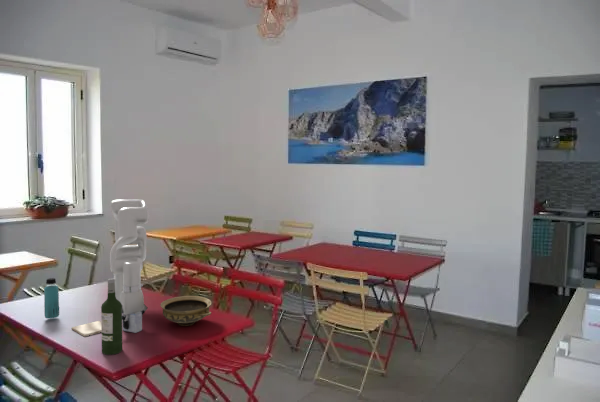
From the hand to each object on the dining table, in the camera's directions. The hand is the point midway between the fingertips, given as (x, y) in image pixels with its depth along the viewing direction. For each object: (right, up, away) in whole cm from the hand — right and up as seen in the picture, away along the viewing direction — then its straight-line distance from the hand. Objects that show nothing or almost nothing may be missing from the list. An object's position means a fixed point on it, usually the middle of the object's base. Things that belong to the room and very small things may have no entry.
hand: (132, 326), depth 221 cm
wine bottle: (0, -4, -24) cm, 24 cm away
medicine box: (0, -2, 0) cm, 2 cm away
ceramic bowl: (+22, -1, +11) cm, 25 cm away
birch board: (-18, -1, 0) cm, 19 cm away
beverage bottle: (-43, 0, +13) cm, 45 cm away
